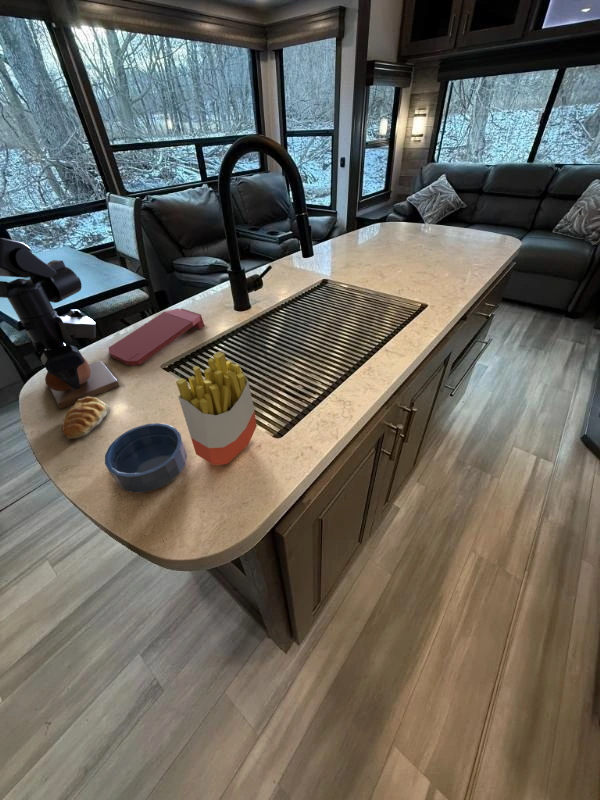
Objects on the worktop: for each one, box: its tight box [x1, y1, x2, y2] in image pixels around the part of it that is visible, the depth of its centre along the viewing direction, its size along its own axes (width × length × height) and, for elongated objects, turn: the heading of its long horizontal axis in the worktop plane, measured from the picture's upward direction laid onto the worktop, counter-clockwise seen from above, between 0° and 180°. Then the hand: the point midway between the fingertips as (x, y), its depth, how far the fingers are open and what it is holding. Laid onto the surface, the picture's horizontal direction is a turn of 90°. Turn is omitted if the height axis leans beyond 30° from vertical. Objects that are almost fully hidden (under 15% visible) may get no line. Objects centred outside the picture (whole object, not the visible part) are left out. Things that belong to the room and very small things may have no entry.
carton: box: [108, 308, 206, 366], centre depth 92 cm, size 12×5×25 cm
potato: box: [44, 355, 91, 391], centre depth 71 cm, size 7×9×6 cm
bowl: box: [104, 422, 188, 494], centre depth 56 cm, size 12×12×4 cm
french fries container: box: [175, 350, 258, 466], centre depth 54 cm, size 5×11×18 cm, turn 145°
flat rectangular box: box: [49, 359, 120, 409], centre depth 76 cm, size 12×12×2 cm
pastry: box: [62, 396, 109, 439], centre depth 64 cm, size 9×7×4 cm
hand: (72, 379), depth 72 cm, fingers open, 8 cm apart
